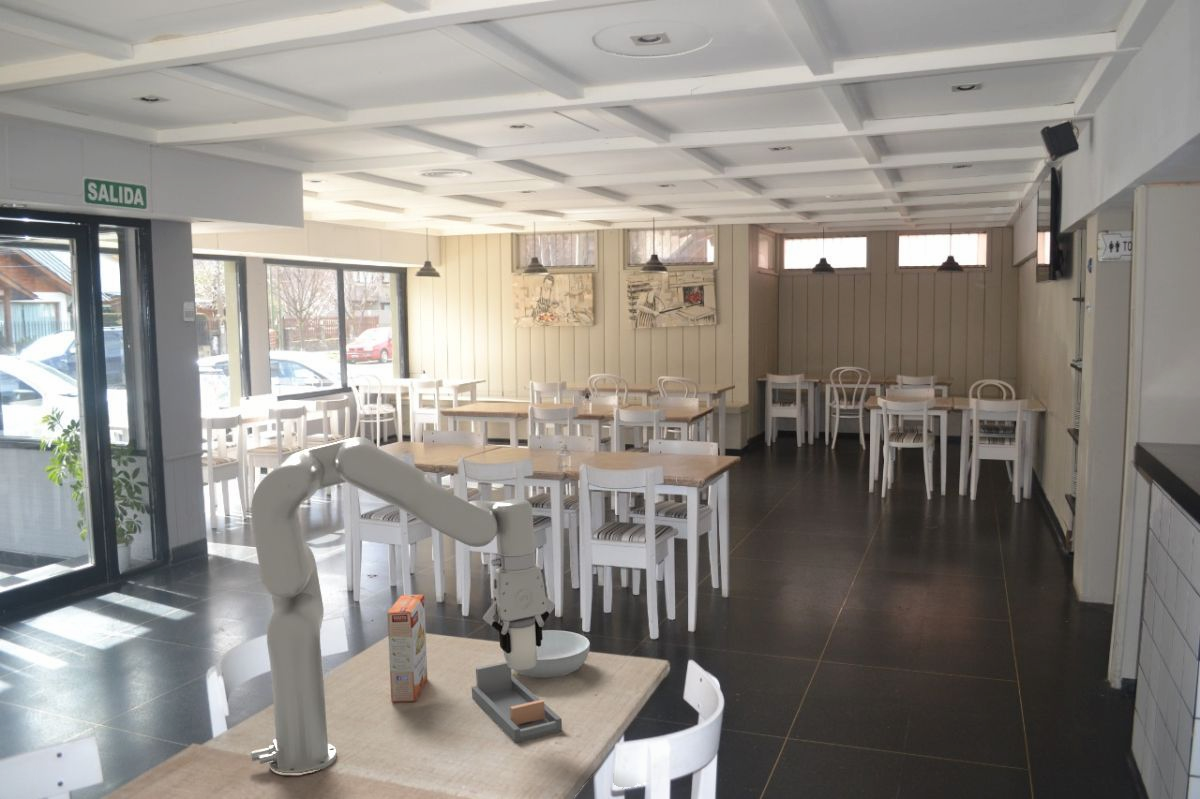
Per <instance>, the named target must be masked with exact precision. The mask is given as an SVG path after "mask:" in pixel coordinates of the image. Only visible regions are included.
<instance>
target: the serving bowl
mask: <svg viewBox="0 0 1200 799" xmlns="http://www.w3.org/2000/svg"><path fill="white" fill-rule="evenodd" d="M590 646H591V643H590V640H589V639H588V638H587V637H585V636H584V635H583V634H579V633H576V632H574V631H573V632H572V631H566V630H556V629H555V630H552V629H551V630H548V629H547V630H542V640H541V646H539V647H538V646H536V650H537V665H536V666H535V667H533V668H530V669H525V670H515V669H512V670H513V671H514V672H516V673H518V674H520V675H523V676H527V677H531V678H538V679H549V678H550V679H551V677H552V678H555V677H556V678H557V677H562V676H566V675H568V674H571V673H572V672H575V671H577V670H578V669H579V668H581V667H582V666H583V665H584V663H585V662H586V661H587V658H588V656H589V653H590ZM502 653H503V656H504V659H505V662H506V661H507V653H506V652H505V651H504V650H503V649H502Z"/></svg>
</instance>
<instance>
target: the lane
mask: <svg viewBox="0 0 1200 799" xmlns="http://www.w3.org/2000/svg"><path fill="white" fill-rule="evenodd" d="M475 677H476V678H475V679H476V681H475V682H476V685H475V686H471V698H472V700H473V701H474V702H475V703H476V704H477V706H479V707H480V708H481V709H482V710H483V712H485V713H486V714H487V716H488V717H490V719H492V721H493V722H495V724H496V723H497V724H498V725H499V726H500V727H501V728H502V729H503V730H502V729H501V728H500V727H499V726H498V725H497V724H496V725H497V726H498V727H499V728H500V729H501V730H502V731H503V732H504V733H505V734H506V735H507V736H508V737H509V739H511V741H513V742H514V743H520V742H523V741H527V740H531V739H535V738H538V737H542V736H546V735H550V734H554V733H555V734H556V733H559V732H563V726H562V725H563V724H562V717H560V715H558V714H557V713H556V712H555V711H553V710H552V709H551V708H550V707H549V706H548V705H547V704H546V703H544V708H545V718H543V719H539V720H535V721H531V722H527V723H523V724H518V725H516V724H515V723H514V722H513V721H512V720H511V718H510V707H512V706H516V705H520V704H525V703H529V702H533V701H537V700H541V699H540V698H539V697H537V696H536V694H535V693H533V692H532V691H530V689H529V688H527V687H526V686H525V685H523V683H521V681H519V680H518V679H517V677H516V678H515V677H512V669H511V668H509V667H508V661H506V660H505V661H503V662H498V663H494V664H488V665H484V666H478V667H475ZM534 737H535V738H534Z"/></svg>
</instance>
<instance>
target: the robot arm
mask: <svg viewBox="0 0 1200 799" xmlns="http://www.w3.org/2000/svg"><path fill="white" fill-rule="evenodd" d="M344 483H347V484H349V485H351V486H354V487H355V488H357V489H359V490H361V491H363V492H365V493H367V494H369V495H372V496H373V497H375V498H378V499H380V500H381V501H384V502H386V503H388V504H390V505H392V506H394V507H396V508H398V509H399V510H402V511H403V512H404V513H406V514H408V515H409V516H411V517H413V518H415V519H417V520H419V521H420V522H423V523H424V524H426V525H427V526H429V527H430V528H432V529H434V530H436V531H437V532H439V533H441V534H443V535H446V536H447V537H450V538H452V539H453V540H455V541H458V542H460V543H462V544H464V545H467V546H469V547H474V548H481V547H485V546H487V545H488V544H490V543H492V541H493V540H494V539H495V538H496V550H497V551H496V552H497V553H496V554H495V555H496V558H493V559H491V561H490V562H491V567H497V568H496V569H495V571H494V576H493V577H494V578H493V587H492V590H493V591H492V604H491V606H490V607H489V608H488V609H487V611H486V612H485V613H484V615H483V617H482V619H483V621H485V622H486V623H487V624H489V625H490V626H491V627H493V629H495V630H496V631H498V634H499V636H498V637H499V647H500V649H502V651H503V650H504V651H505V652H506V653H507V654H508V653H510V652H511V645H510V634H509V633H508V631H507V630H508V627H509V624H510V621H515V620H520V619H524V618H529V617H534V616H535V632H536V646H538V647H539V646H541V640H542V631H543V627H544V625H545V622H546V620H547V619H548V618H549V616H550V614H551V613H552V612H553V610H554V609H555V608H556V604H555V603H554V602H553V601H552V600H551V599H550V598H548V597H547V596H546V591H545V590H546V589H545V584H544V577H543V574H542V569H541V566H540V565H539V564H537V563H536V550H535V533H534V531H535V530H534V519H533V518H534V517H533V506H532V504H531V502H530V501H529V500H526V499H522V498H511V499H505V500H502V501H494V500H491V501H490V500H470V501H466V500H464V499H462V498H461V497H459V496H456V495H455V494H453V493H451V492H450V491H449V490H446V489H445V488H444V487H443V486H442V485H440V484H439V483H438V482H436V480H434V478H432V476H430V475H429V474H427V473H426V472H425V471H423V470H422V469H420V468H419V467H416V466H414V465H412V464H410V463H408V462H406V461H404V460H401V459H399V458H397V457H395V456H393V455H392V454H390V453H389V452H385V451H384V450H382V449H380V448H378V446H377V445H376V443H374V442H373V441H372V440H371V439H368V438H366V437H362V436H355V437H354V436H353V437H351V438H347V439H343V440H339V441H337V442H331V443H328V444H325V445H319V446H317V447H312V448H309V449H304V450H301V451H297V452H295V453H291V455H289V456H287V457H285V459H284V460H283V461H282V462H281V463H280V464H279V465H278V466H276V468H274V469H272V471H270V472H269V473H268V474H267V475H266V476H265V477H264V478H263V479H262V480H261V481H260V483H258V485H257V487H256V489H255V491H254V493H253V497H252V500H251V513H250V514H251V520H252V521H251V522H252V527H253V532H254V534H253V535H254V542H255V549H256V554H257V555H256V556H257V559H258V567H259V573H260V574H259V575H260V578H259V579H260V581H261V584H262V587H263V588H264V590H265V591H266V592H267V594H268V595H270V596H271V600H272V605H273V609H274V611H273V613H272V615H271V617H270V619H269V621H268V622H269V623H268V625H267V631H266V645H267V646H266V647H267V651H268V656H269V657H268V658H269V665H270V673H271V674H270V675H271V689H272V698H273V699H272V700H273V713H274V714H273V715H274V727H275V738H274V739H273V740H272V745H271V744H270V745H268V746H267V747H266V748H262V749H261V748H260V749H256V750H252V751H250V756H251V761H252V762H256V761H259V764H260V765H261V764H265V763H268V766H269V765H270V767H271V768H272V769H274V770H275V771H278V772H282V773H303V772H308V771H313V770H319V769H322V770H325V769H326V768H328V767H329V766H330V765H332V764H333V763H334V762H335V761H336V759H337V757H336V756H337V754H338V753H337V748H336V747H335V746H334V745H333V744H331V743H329V742H328V728H327V709H326V696H325V694H326V693H325V681H324V666H323V656H322V648H321V629H322V623H323V621H324V603H323V598H322V597H323V596H322V592H321V584H320V580H319V574H318V568H317V563H316V558H315V555H314V552H313V551H312V549H311V548H310V547H309V545H307V544H306V543H305V542H304V539H303V535H302V527H301V522H300V518H299V509H300V507H301V505H302V504H303V503H304V502H305V501H307V500H308V499H310V498H312V496H314V495H315V493H317V491H318V490H321V489H325V488H329V487H330V488H331V487H334V486H337V485H341V484H344ZM494 616H496V617H498V618H499V619H498V621H496V620H495V619H494ZM334 760H335V761H334ZM333 761H334V762H333Z"/></svg>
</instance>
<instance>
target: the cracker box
mask: <svg viewBox="0 0 1200 799" xmlns="http://www.w3.org/2000/svg"><path fill="white" fill-rule="evenodd" d="M386 614H387V616H386V617H387V631H388V632H387V635H388V636H387V637H388V652H389V653H388V655H389V656H388V657H389V677H390V679H389V680H390V681H389V682H390V701H391V703H406V702H407V703H409V702H412V703H413V702H416V700H417V699H418V697H419V695H420V693H421V691H422V689H423V687H424V686H425V684H426V682H427V680H428V660H427V632H426V631H427V630H426V608H425V594H402V595H400V596H399V598H398V599H397V600H396V602H395V603H394V604H393V605H392V607H390V609H389V610H388V612H387V613H386Z"/></svg>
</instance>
